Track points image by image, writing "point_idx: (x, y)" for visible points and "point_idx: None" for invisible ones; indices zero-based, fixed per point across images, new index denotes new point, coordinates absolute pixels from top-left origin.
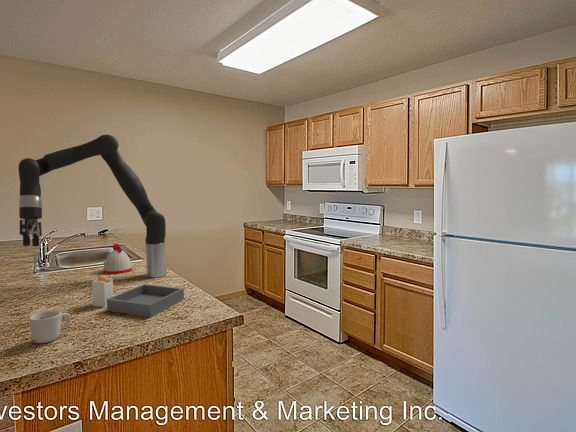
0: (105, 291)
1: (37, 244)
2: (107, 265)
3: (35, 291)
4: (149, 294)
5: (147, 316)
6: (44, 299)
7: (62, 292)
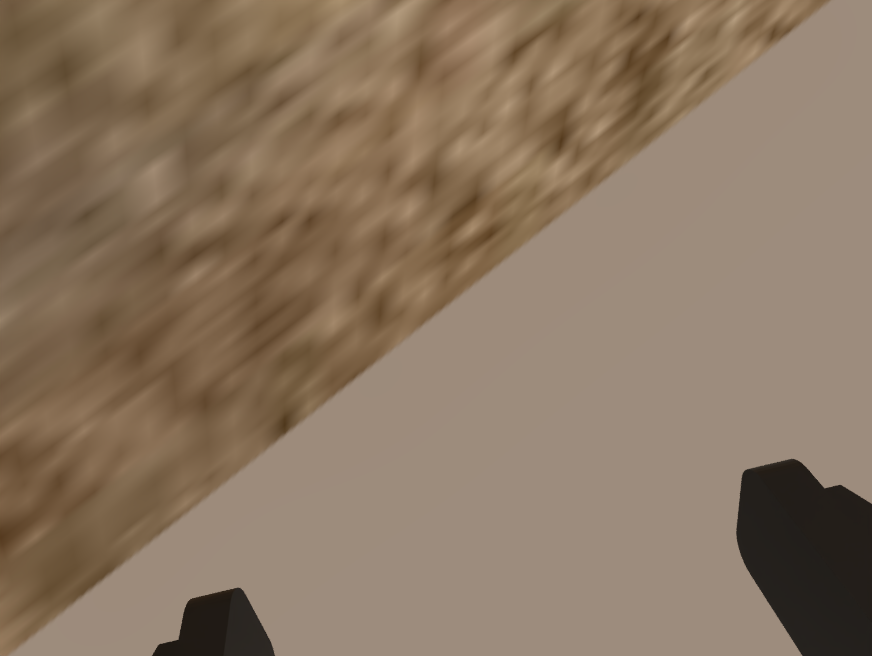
0: None
1: (236, 636)
2: None
3: (74, 337)
4: None
5: None
6: (316, 72)
7: (64, 10)
